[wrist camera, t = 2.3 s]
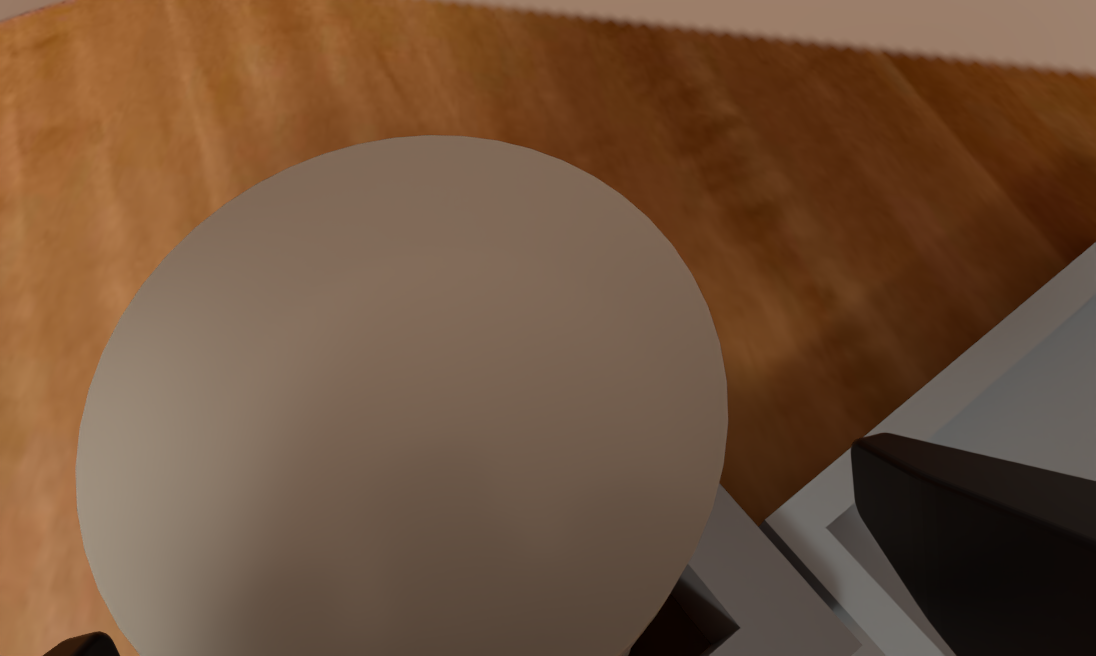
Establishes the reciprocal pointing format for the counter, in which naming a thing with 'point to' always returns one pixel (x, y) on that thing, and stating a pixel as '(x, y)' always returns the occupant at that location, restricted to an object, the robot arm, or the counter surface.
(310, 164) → the beige banded cylinder
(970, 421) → the parts tray
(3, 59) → the counter surface
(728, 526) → the holder
